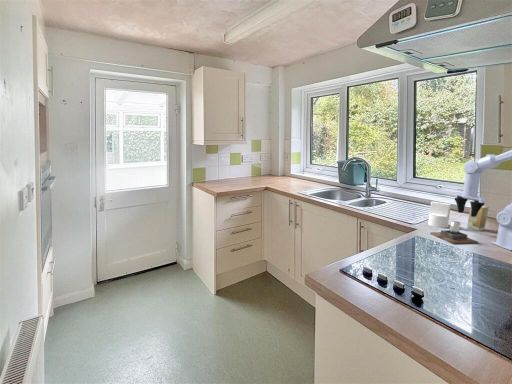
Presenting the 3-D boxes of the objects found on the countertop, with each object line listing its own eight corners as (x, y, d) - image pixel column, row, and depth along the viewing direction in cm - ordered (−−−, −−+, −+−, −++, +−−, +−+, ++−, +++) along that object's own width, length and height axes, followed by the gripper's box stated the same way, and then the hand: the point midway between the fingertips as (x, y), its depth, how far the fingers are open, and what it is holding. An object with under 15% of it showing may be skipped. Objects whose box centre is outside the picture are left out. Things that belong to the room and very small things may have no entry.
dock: (477, 243, 132) (478, 237, 132) (453, 244, 131) (454, 238, 130) (453, 233, 146) (453, 227, 145) (430, 234, 144) (431, 228, 144)
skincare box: (466, 227, 156) (469, 204, 154) (472, 226, 158) (475, 204, 156) (479, 231, 150) (483, 207, 148) (485, 230, 152) (489, 206, 150)
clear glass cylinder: (459, 237, 138) (461, 222, 136) (456, 238, 136) (458, 223, 134) (450, 235, 141) (452, 220, 139) (447, 236, 138) (449, 221, 137)
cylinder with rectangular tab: (425, 224, 160) (428, 202, 158) (431, 221, 166) (434, 200, 164) (444, 228, 154) (447, 205, 152) (450, 225, 160) (453, 203, 158)
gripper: (492, 189, 136) (487, 218, 139) (466, 184, 150) (462, 210, 153) (478, 189, 135) (474, 218, 138) (453, 184, 149) (449, 210, 152)
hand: (467, 214), depth 145 cm, fingers open, 7 cm apart
